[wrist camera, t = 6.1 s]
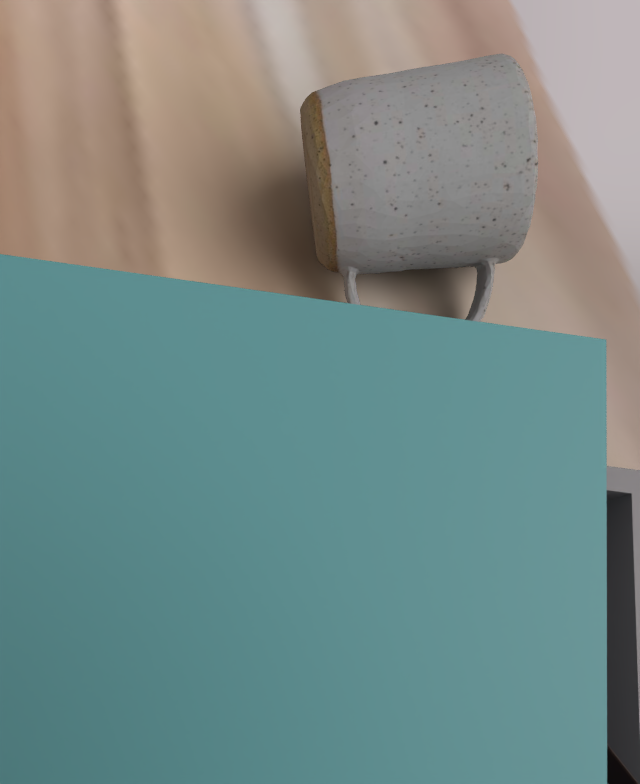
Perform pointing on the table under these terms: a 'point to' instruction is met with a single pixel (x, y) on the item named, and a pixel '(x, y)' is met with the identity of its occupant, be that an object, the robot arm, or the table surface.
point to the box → (623, 616)
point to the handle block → (294, 539)
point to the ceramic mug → (422, 170)
